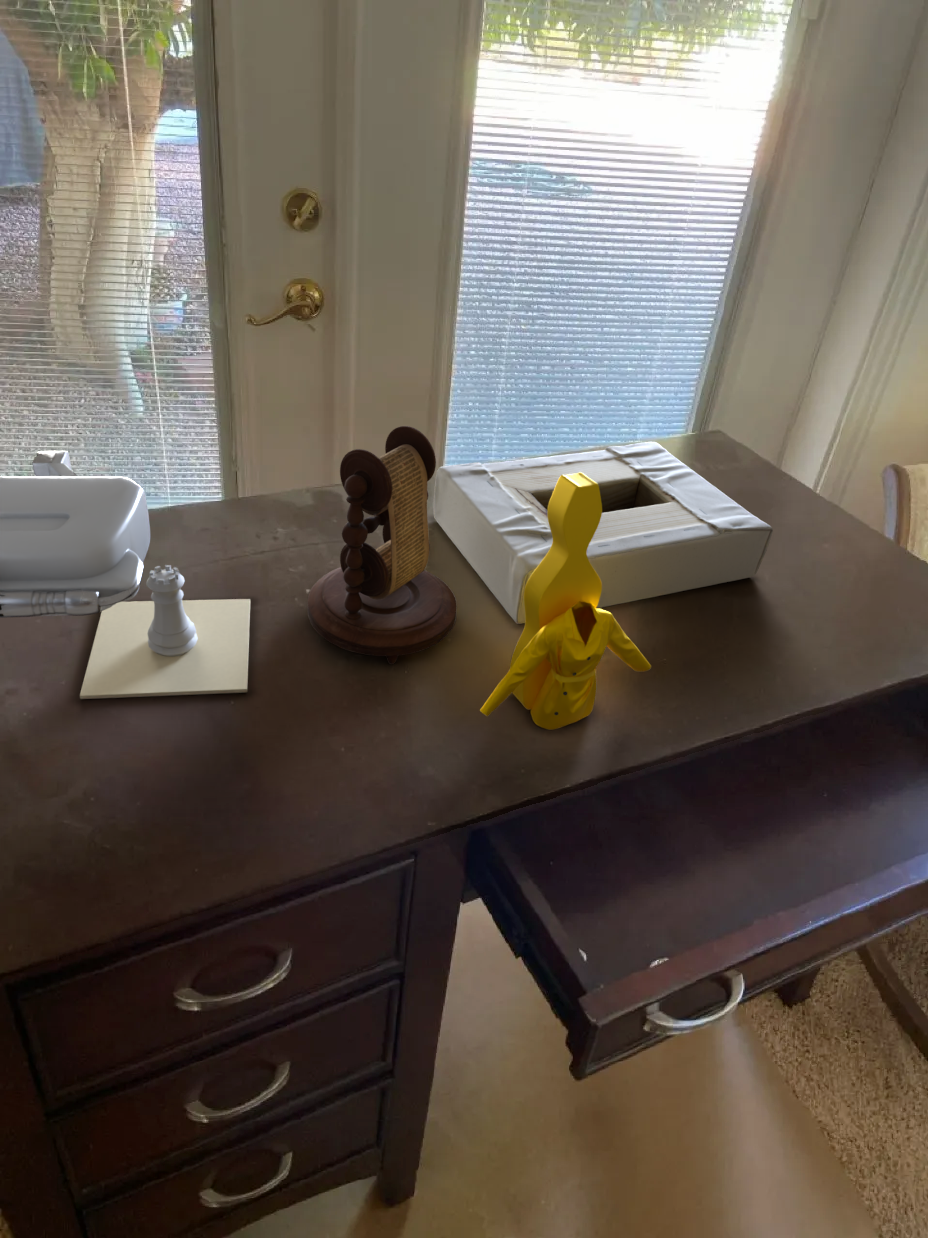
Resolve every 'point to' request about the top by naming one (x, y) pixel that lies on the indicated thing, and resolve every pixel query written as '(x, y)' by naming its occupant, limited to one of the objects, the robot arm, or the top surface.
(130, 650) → the linen mat
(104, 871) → the top surface
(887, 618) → the top surface
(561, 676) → the yellow coat with case
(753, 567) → the box
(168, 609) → the rook chess piece
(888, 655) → the top surface
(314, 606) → the scroll
